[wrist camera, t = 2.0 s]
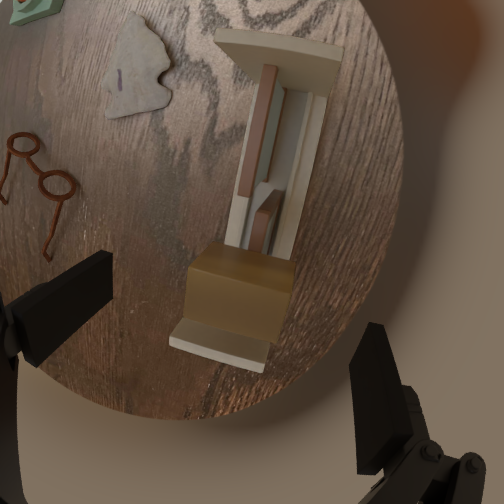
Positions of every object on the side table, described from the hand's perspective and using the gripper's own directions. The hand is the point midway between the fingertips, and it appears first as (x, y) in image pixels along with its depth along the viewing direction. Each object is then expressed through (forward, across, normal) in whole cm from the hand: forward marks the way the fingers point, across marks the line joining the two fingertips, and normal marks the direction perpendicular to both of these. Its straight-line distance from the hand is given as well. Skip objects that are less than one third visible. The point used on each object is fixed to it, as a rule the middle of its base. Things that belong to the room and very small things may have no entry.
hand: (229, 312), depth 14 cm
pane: (+13, 0, 0) cm, 13 cm away
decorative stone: (+16, -16, +14) cm, 27 cm away
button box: (+16, -37, +27) cm, 48 cm away
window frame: (+16, 0, +4) cm, 16 cm away
